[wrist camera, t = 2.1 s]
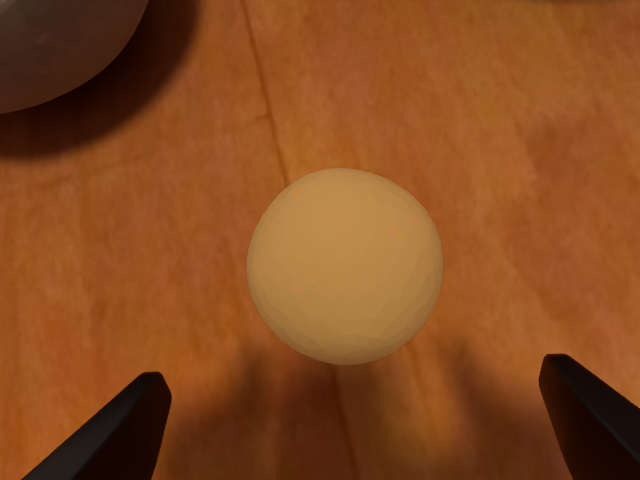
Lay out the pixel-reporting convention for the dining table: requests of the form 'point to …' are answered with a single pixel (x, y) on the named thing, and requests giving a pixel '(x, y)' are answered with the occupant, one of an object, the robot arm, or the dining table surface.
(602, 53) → the dining table surface
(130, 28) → the bowl
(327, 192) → the light bulb
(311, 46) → the dining table surface
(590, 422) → the robot arm
